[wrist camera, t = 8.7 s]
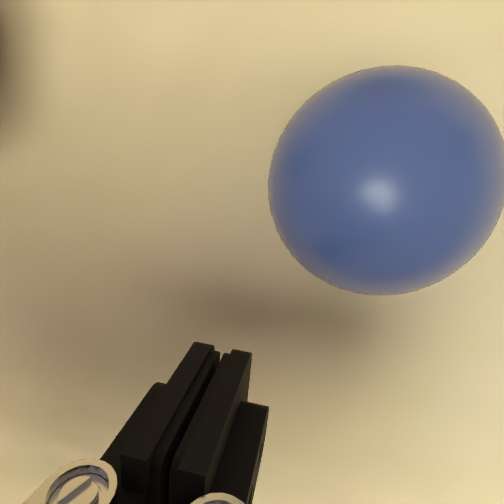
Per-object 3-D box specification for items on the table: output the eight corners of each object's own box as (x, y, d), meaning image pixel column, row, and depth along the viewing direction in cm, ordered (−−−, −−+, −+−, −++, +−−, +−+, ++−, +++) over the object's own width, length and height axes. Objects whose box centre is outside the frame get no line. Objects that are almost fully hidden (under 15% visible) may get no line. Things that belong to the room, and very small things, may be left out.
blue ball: (579, 13, 5) (410, 10, 9) (227, 197, 6) (228, 116, 11) (580, 284, 8) (450, 181, 12) (340, 372, 9) (302, 249, 14)
